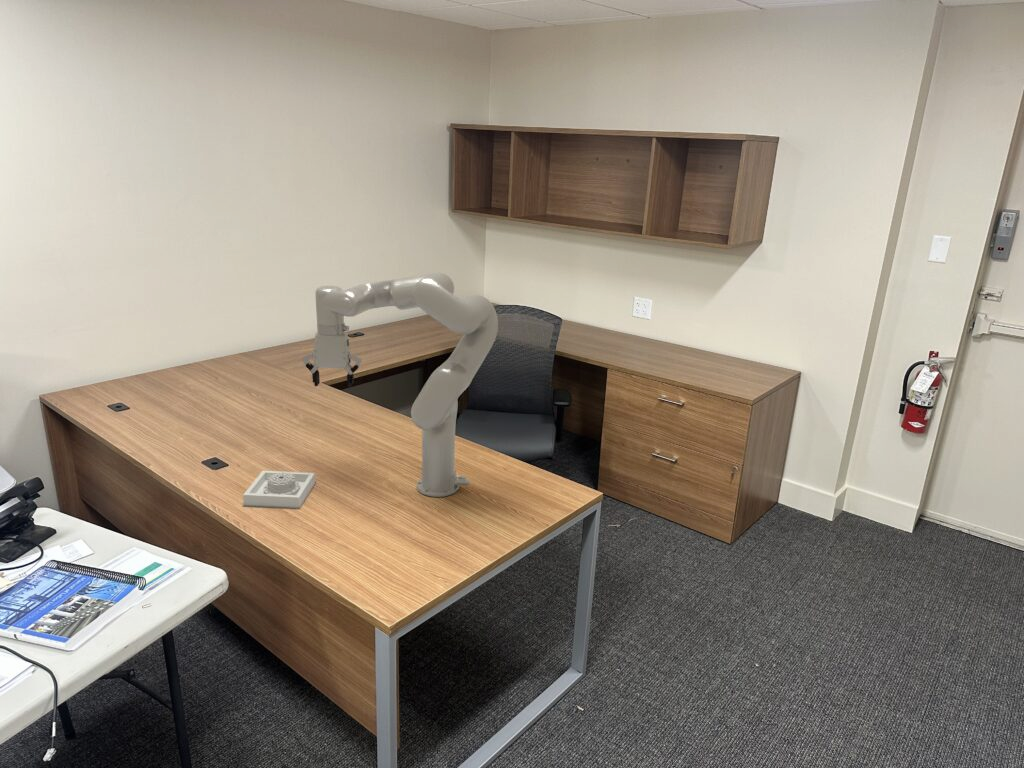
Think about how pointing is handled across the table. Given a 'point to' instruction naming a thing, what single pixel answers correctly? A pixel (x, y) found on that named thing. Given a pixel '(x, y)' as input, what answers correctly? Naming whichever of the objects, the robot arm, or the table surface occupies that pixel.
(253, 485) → the tray
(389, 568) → the table surface
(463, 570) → the table surface
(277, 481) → the mechanical component
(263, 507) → the grey flat plate
